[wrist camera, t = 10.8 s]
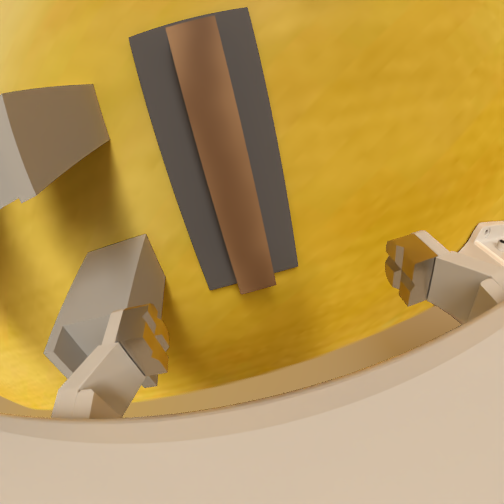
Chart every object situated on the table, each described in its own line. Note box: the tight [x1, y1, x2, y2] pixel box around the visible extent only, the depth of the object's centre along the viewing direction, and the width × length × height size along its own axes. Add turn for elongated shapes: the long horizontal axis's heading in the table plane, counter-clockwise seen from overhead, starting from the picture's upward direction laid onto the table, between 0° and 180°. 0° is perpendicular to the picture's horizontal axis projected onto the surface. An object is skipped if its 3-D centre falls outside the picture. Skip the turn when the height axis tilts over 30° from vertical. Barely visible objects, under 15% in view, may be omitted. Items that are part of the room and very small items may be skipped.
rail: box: [166, 15, 276, 294], centre depth 21 cm, size 3×22×3 cm, turn 12°
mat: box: [129, 7, 298, 290], centre depth 23 cm, size 9×24×1 cm, turn 12°
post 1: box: [0, 84, 110, 209], centre depth 14 cm, size 6×5×12 cm
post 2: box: [44, 234, 165, 388], centre depth 21 cm, size 6×5×12 cm
